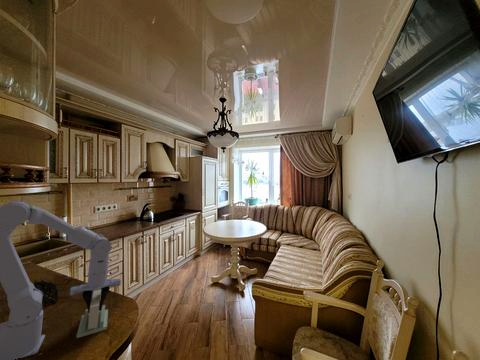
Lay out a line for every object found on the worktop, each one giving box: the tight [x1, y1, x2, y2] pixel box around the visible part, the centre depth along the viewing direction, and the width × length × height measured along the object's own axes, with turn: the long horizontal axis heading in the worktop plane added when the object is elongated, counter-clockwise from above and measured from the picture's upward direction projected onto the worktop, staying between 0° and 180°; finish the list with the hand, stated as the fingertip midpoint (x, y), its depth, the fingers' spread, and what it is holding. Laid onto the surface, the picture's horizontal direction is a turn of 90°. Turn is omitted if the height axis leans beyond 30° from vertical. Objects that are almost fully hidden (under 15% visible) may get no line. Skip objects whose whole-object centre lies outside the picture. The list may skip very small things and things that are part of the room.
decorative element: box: [32, 279, 60, 306], centre depth 84 cm, size 22×5×6 cm, turn 60°
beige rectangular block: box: [88, 289, 101, 329], centre depth 68 cm, size 12×2×7 cm, turn 33°
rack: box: [76, 304, 109, 339], centre depth 68 cm, size 8×11×3 cm
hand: (95, 310), depth 68 cm, fingers closed on beige rectangular block, 2 cm apart
